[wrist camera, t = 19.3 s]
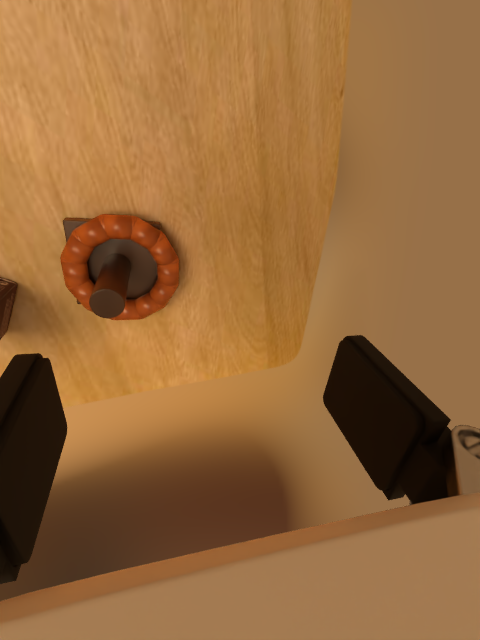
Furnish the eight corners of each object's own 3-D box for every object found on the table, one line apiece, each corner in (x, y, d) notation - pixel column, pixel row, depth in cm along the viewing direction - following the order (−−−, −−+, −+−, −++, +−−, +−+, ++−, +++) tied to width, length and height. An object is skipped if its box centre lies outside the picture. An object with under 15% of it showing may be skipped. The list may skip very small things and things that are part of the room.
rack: (159, 221, 29) (162, 251, 21) (162, 298, 33) (165, 346, 25) (65, 217, 27) (31, 248, 19) (79, 299, 31) (55, 352, 23)
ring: (178, 215, 28) (179, 220, 26) (178, 312, 33) (179, 321, 31) (55, 209, 25) (48, 214, 24) (74, 315, 30) (70, 325, 29)
